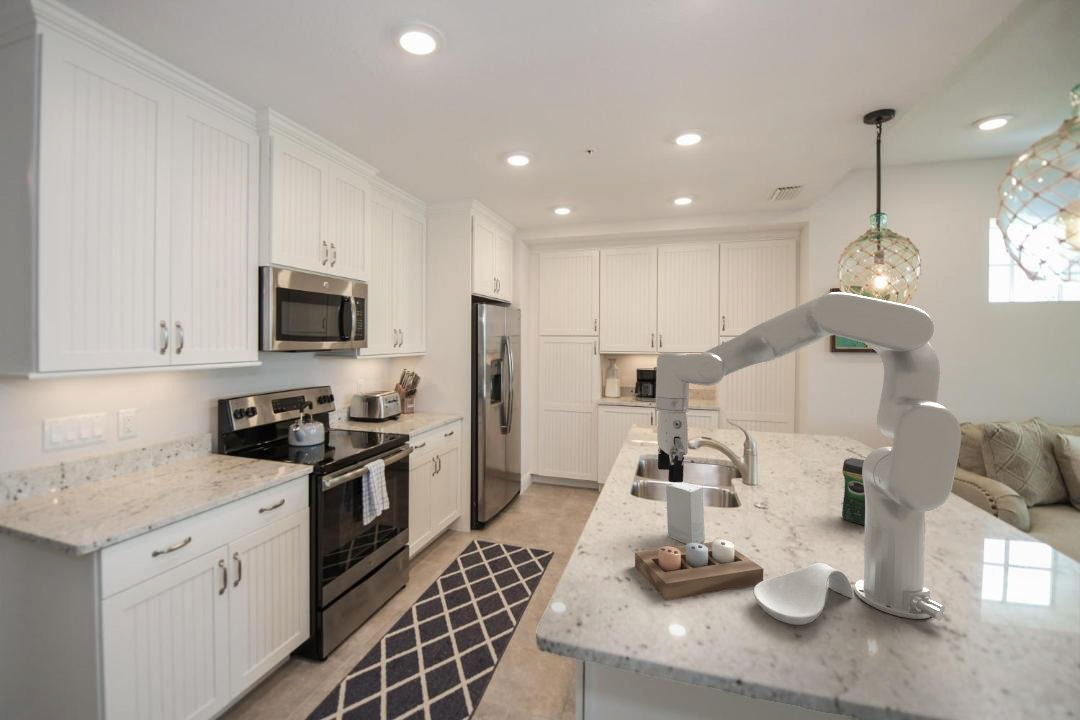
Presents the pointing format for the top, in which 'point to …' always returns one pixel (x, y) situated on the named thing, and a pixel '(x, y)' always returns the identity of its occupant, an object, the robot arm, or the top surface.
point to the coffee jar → (853, 491)
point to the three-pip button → (669, 559)
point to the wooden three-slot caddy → (698, 574)
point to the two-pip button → (696, 555)
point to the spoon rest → (800, 593)
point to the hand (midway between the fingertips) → (669, 475)
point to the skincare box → (685, 512)
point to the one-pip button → (722, 551)
